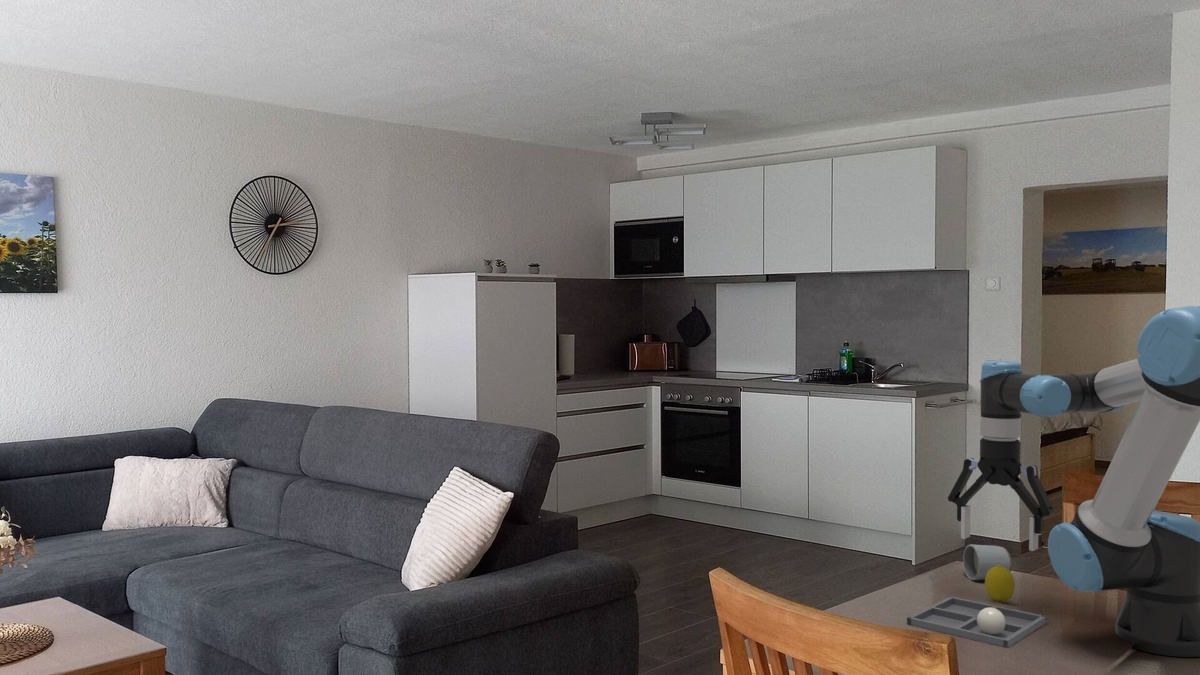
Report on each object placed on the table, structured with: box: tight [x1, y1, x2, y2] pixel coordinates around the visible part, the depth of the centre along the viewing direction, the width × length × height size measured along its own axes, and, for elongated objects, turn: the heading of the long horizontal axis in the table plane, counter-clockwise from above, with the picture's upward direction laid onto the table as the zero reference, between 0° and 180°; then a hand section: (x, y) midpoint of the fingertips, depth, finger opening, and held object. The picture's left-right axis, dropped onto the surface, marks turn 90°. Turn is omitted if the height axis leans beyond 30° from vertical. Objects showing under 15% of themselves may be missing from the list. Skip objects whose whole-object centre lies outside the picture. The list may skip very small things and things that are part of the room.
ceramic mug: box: [962, 543, 1012, 581], centre depth 213 cm, size 11×8×8 cm
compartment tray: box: [906, 596, 1048, 649], centre depth 178 cm, size 18×18×2 cm
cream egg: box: [977, 607, 1006, 635], centre depth 172 cm, size 5×5×5 cm
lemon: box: [984, 565, 1016, 605], centre depth 193 cm, size 6×6×8 cm
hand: (998, 543), depth 194 cm, fingers open, 13 cm apart
